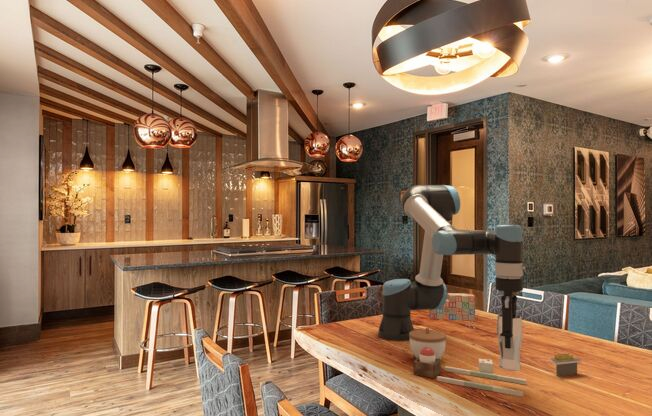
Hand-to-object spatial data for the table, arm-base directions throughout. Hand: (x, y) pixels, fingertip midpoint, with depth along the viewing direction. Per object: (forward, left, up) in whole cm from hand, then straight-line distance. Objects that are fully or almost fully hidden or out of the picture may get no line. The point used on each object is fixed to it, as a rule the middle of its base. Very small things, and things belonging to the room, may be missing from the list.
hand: (509, 355), depth 127 cm
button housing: (-25, 0, -9) cm, 26 cm away
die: (-8, +9, -10) cm, 15 cm away
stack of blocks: (-35, +80, -10) cm, 87 cm away
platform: (+14, +20, -10) cm, 27 cm away
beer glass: (0, 0, -4) cm, 4 cm away
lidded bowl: (-28, +13, -10) cm, 32 cm away
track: (-8, 0, -9) cm, 12 cm away
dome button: (-25, 0, -8) cm, 26 cm away
